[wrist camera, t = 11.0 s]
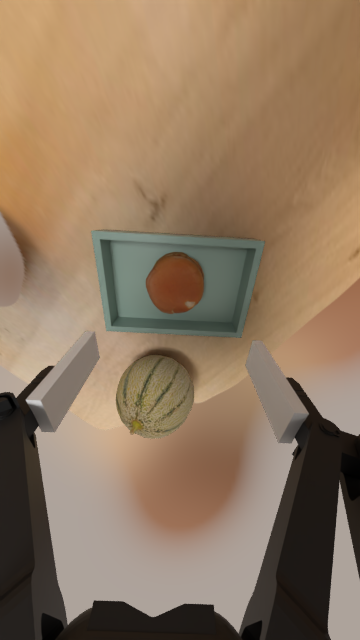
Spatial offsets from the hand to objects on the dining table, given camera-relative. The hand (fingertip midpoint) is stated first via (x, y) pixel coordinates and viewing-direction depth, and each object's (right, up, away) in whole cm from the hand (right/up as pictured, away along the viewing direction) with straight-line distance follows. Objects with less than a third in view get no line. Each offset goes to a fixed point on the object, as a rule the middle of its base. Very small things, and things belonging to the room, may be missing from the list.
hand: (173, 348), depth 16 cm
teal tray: (0, +9, +18) cm, 20 cm away
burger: (0, +9, +17) cm, 19 cm away
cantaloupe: (-4, -8, +27) cm, 29 cm away
